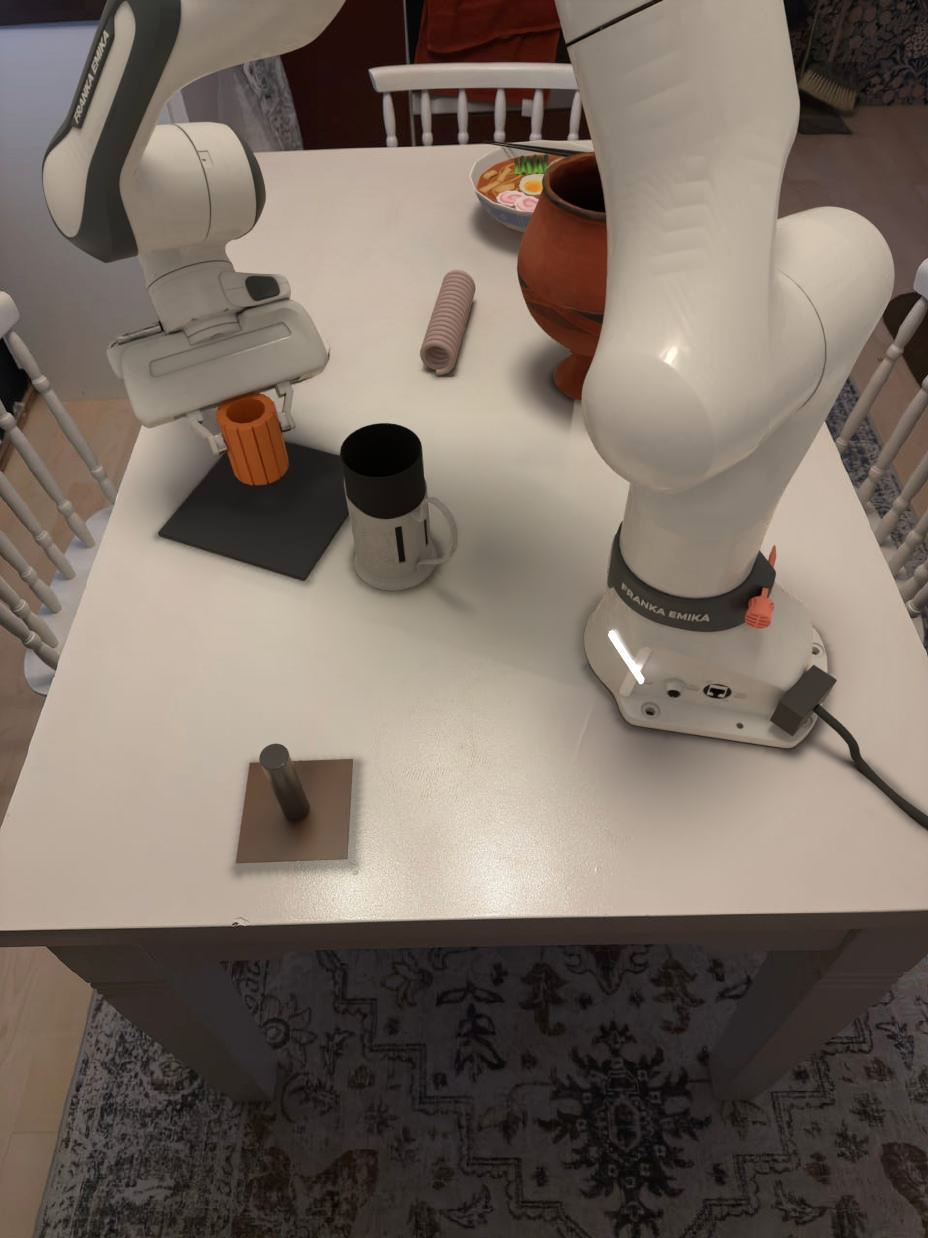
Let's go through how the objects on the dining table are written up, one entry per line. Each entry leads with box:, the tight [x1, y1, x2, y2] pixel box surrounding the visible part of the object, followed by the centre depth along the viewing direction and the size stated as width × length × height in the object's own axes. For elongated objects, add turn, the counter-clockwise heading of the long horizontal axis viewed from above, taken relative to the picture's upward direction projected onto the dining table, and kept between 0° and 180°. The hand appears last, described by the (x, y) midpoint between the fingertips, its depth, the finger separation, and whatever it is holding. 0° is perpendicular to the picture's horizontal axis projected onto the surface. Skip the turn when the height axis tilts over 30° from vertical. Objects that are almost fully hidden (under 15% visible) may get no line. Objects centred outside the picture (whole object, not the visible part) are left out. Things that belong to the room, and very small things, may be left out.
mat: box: [157, 440, 349, 582], centre depth 93 cm, size 18×18×1 cm
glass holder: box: [339, 422, 459, 592], centre depth 81 cm, size 9×14×15 cm, turn 43°
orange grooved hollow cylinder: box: [215, 392, 289, 485], centre depth 86 cm, size 6×6×8 cm
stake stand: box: [235, 743, 354, 864], centre depth 66 cm, size 9×9×10 cm
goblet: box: [516, 151, 607, 402], centre depth 95 cm, size 19×19×25 cm
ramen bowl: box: [468, 139, 594, 234], centre depth 126 cm, size 25×23×8 cm
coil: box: [419, 269, 476, 376], centre depth 110 cm, size 5×5×18 cm
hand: (255, 441), depth 86 cm, fingers closed on orange grooved hollow cylinder, 6 cm apart
